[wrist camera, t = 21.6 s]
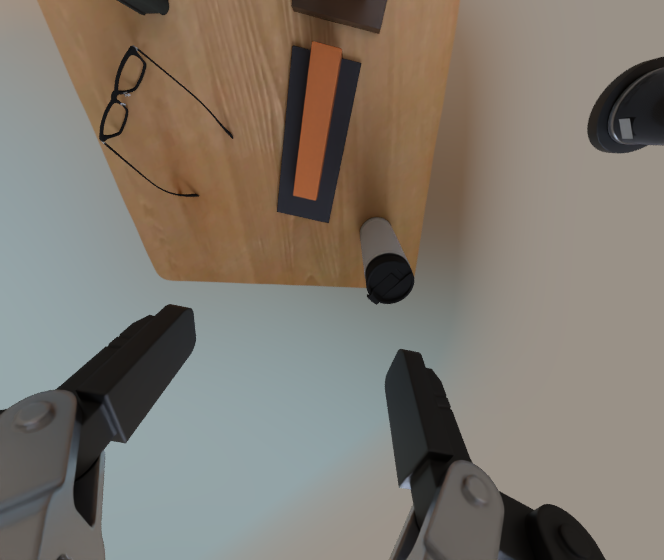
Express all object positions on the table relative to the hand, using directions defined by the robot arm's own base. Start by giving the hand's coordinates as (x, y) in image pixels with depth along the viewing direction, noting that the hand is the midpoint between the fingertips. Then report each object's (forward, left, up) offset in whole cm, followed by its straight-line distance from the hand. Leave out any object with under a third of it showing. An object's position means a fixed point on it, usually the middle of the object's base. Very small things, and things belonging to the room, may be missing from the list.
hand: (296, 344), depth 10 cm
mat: (+6, -3, -40) cm, 41 cm away
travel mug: (-11, +5, -40) cm, 42 cm away
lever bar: (+7, -5, -39) cm, 40 cm away
